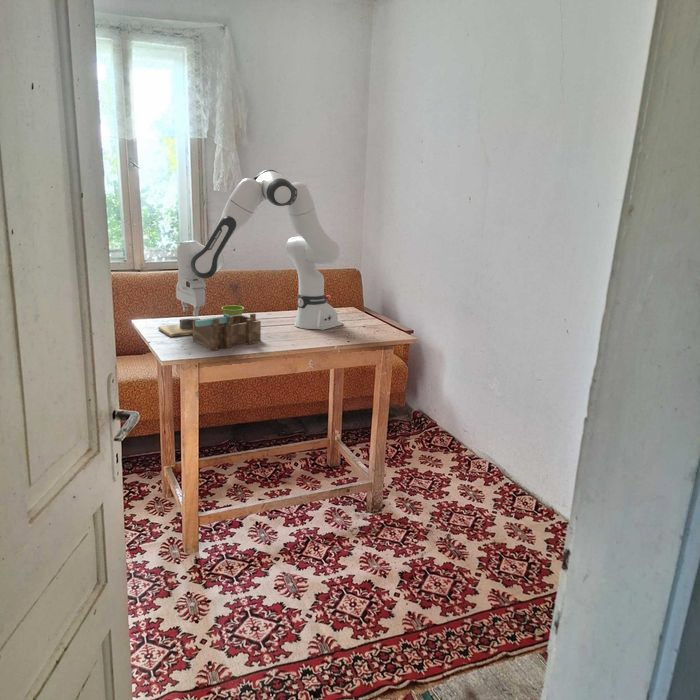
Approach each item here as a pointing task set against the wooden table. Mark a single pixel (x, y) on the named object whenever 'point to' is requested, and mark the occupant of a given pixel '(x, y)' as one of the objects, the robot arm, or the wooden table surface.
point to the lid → (179, 328)
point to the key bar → (211, 321)
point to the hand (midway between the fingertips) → (190, 313)
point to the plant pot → (233, 310)
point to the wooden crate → (228, 332)
